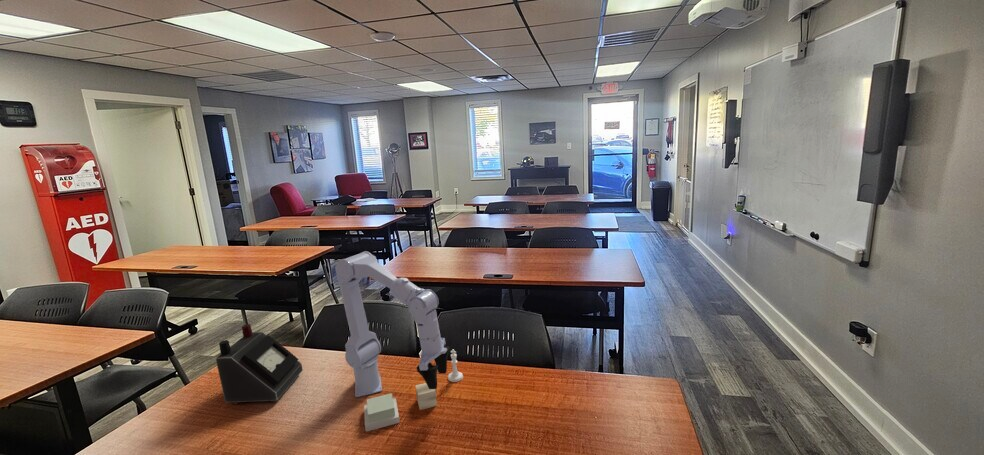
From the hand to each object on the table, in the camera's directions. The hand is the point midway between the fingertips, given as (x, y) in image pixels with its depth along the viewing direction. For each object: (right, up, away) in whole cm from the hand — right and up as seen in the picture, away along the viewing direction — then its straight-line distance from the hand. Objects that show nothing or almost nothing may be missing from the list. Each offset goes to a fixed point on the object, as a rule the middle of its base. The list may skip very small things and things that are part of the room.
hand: (438, 380), depth 112 cm
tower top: (-16, -9, +1) cm, 19 cm away
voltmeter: (-58, -10, +18) cm, 61 cm away
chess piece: (+3, -6, +18) cm, 20 cm away
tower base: (-16, -12, +2) cm, 20 cm away
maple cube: (-4, -9, +7) cm, 12 cm away
